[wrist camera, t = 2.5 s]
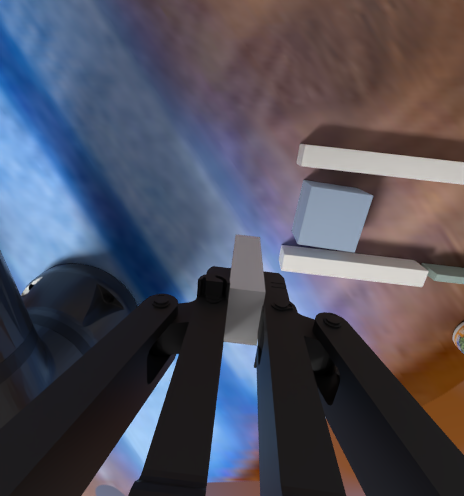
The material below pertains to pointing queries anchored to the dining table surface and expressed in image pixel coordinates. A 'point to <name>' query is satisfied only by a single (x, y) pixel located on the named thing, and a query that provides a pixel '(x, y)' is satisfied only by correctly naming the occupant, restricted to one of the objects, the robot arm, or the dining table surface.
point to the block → (330, 215)
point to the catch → (445, 273)
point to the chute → (362, 263)
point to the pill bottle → (459, 337)
